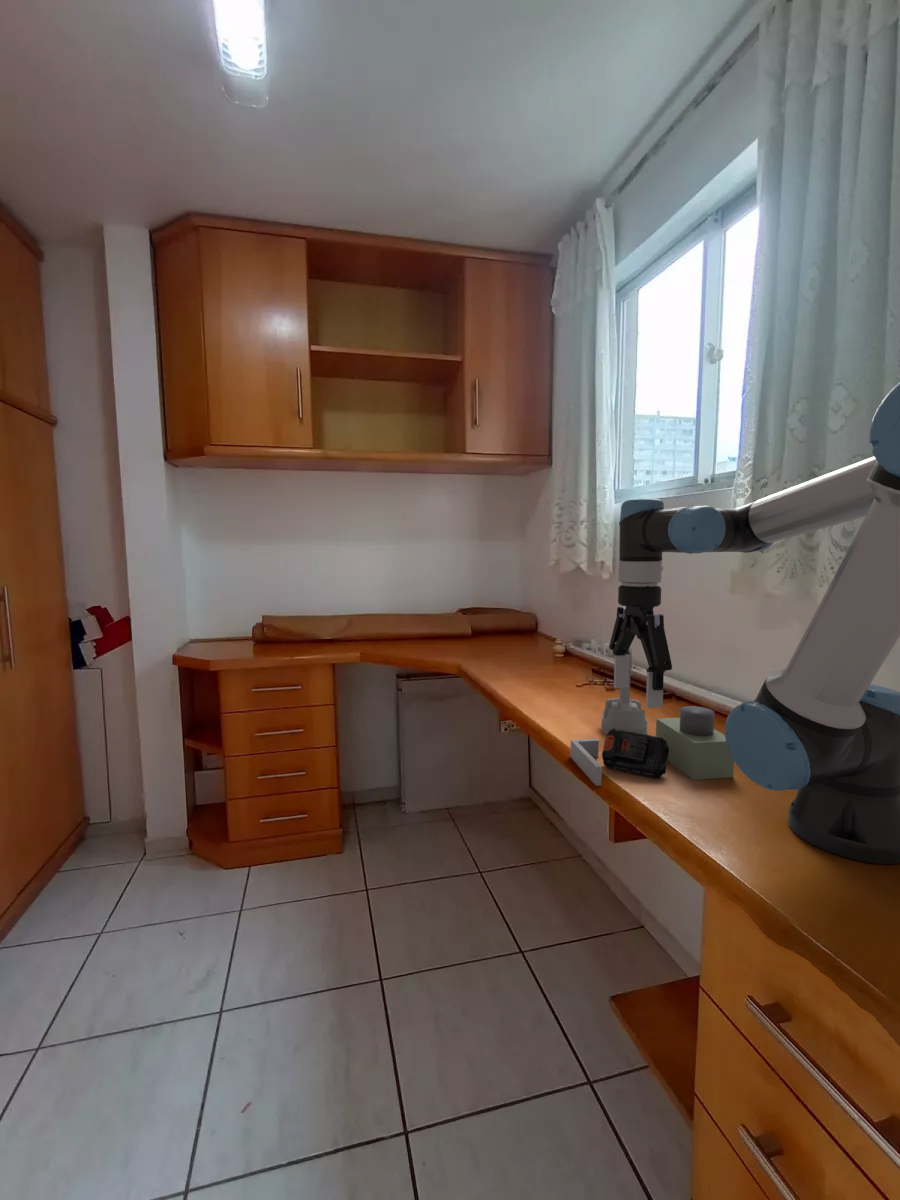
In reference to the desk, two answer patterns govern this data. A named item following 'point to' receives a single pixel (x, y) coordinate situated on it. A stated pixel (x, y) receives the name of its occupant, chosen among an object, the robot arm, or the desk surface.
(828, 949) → the desk surface
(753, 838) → the desk surface
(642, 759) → the battery
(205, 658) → the desk surface
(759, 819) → the desk surface
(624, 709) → the engine component
